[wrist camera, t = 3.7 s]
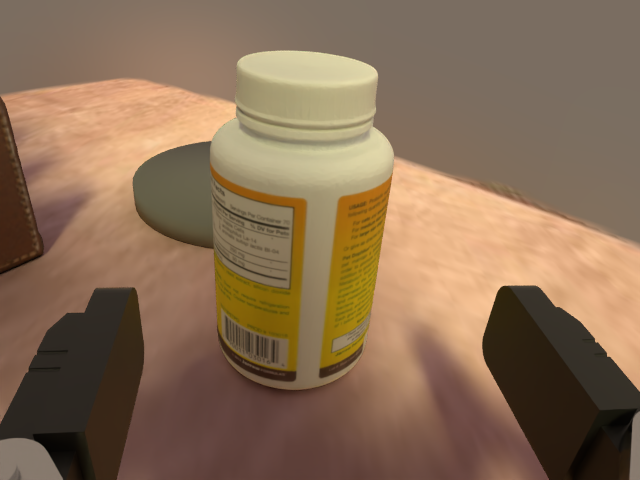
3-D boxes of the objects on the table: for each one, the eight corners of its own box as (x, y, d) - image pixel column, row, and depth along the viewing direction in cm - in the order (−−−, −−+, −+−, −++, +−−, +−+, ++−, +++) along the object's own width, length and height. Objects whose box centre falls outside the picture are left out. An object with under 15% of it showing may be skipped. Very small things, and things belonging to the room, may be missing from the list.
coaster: (97, 237, 25) (93, 215, 24) (172, 149, 35) (171, 132, 34) (345, 260, 24) (347, 239, 24) (346, 165, 35) (348, 149, 34)
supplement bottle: (351, 296, 22) (384, 50, 17) (378, 395, 17) (436, 96, 12) (220, 297, 21) (212, 40, 16) (211, 402, 17) (197, 84, 11)
